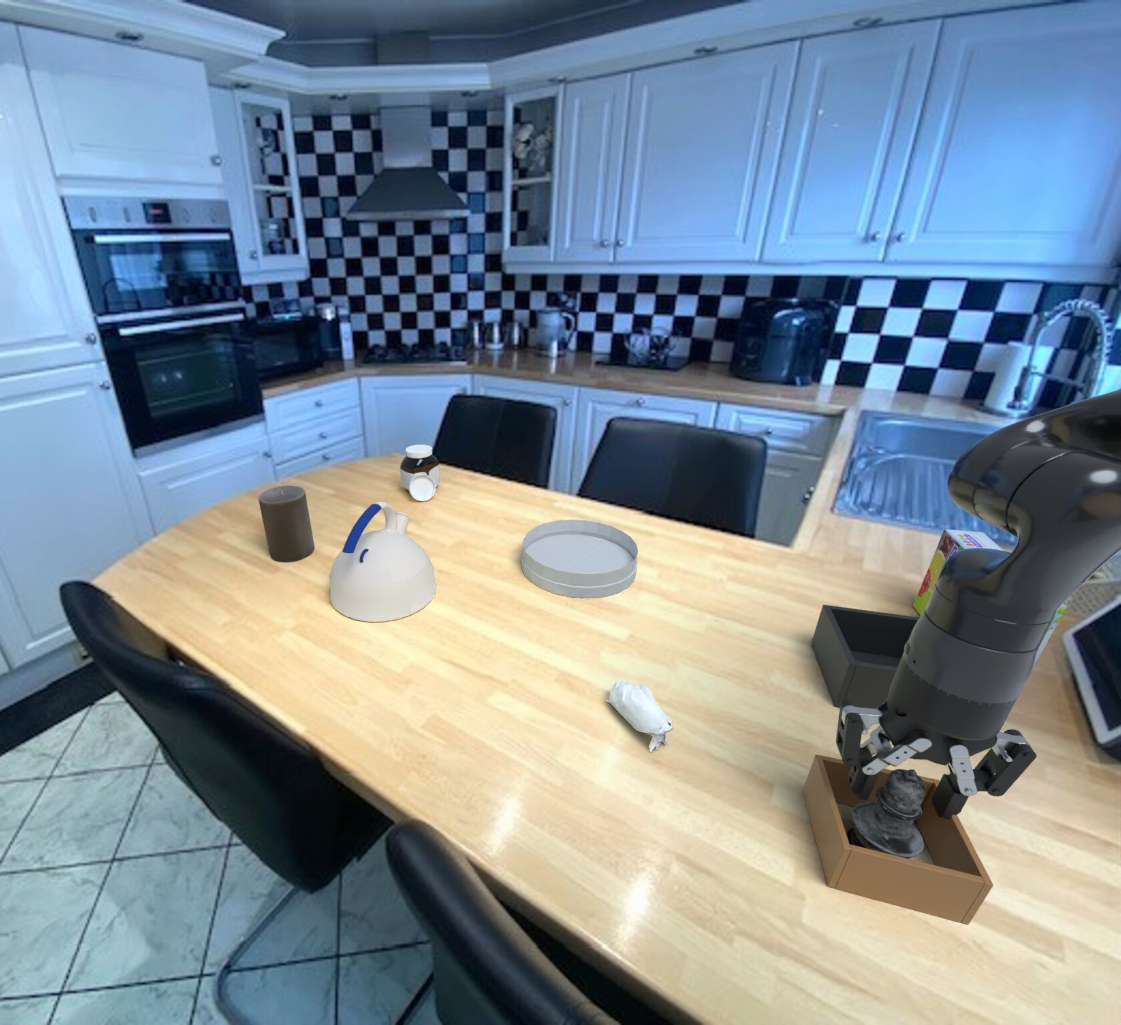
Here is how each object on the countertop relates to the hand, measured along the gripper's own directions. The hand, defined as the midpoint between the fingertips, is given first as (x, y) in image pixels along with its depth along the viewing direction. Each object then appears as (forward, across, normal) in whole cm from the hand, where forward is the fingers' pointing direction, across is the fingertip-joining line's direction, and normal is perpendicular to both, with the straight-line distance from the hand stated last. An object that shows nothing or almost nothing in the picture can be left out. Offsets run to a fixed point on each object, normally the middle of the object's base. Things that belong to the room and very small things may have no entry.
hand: (899, 801), depth 55 cm
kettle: (+8, -70, +31) cm, 77 cm away
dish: (+8, -36, +49) cm, 61 cm away
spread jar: (+8, -79, +76) cm, 110 cm away
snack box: (+8, +22, +40) cm, 46 cm away
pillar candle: (+8, -96, +40) cm, 104 cm away
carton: (+8, 0, 0) cm, 8 cm away
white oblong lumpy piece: (+8, -24, +11) cm, 28 cm away
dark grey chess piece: (+8, 0, 0) cm, 8 cm away
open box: (+8, +8, +28) cm, 30 cm away
